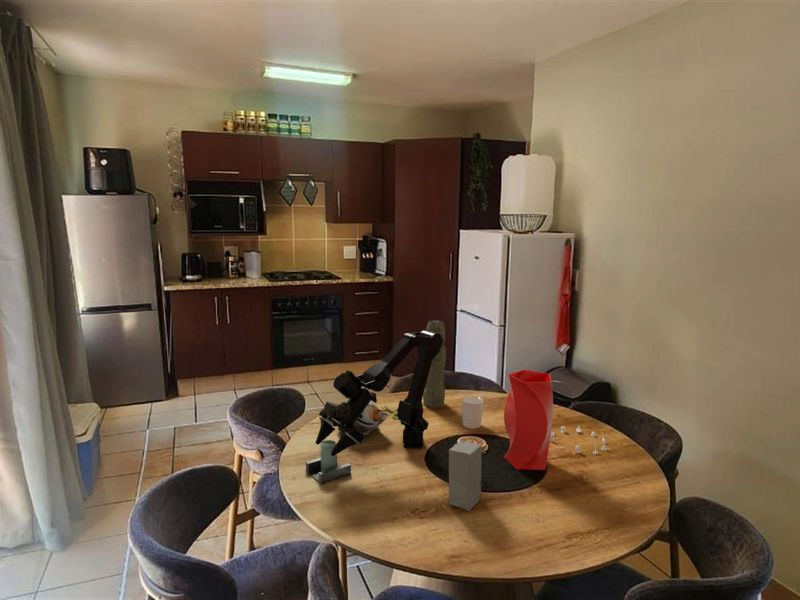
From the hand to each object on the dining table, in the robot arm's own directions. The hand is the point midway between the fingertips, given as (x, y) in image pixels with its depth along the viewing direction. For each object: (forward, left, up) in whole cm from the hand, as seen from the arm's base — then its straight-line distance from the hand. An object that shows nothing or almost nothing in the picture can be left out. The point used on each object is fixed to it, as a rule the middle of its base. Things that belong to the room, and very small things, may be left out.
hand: (324, 449), depth 152 cm
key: (-18, -49, -9) cm, 53 cm away
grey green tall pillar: (-33, -61, -8) cm, 70 cm away
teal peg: (-1, -1, -8) cm, 8 cm away
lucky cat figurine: (-7, -31, -8) cm, 33 cm away
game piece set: (-83, -30, -8) cm, 89 cm away
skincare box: (-41, +11, -8) cm, 43 cm away
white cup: (-47, -41, -8) cm, 63 cm away
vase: (-62, -14, -8) cm, 64 cm away
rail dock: (-1, -1, -8) cm, 8 cm away
